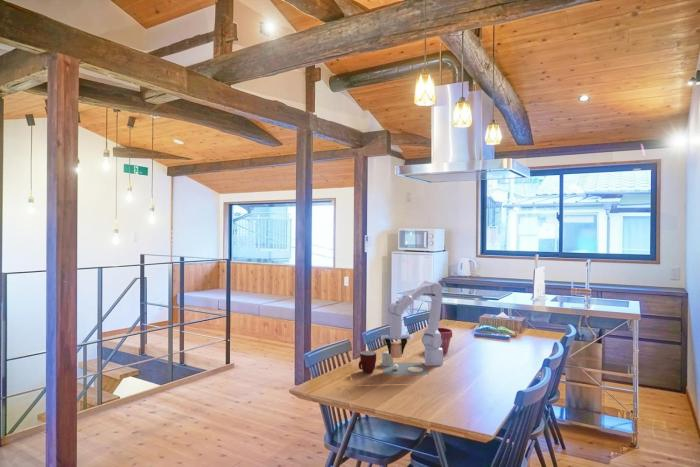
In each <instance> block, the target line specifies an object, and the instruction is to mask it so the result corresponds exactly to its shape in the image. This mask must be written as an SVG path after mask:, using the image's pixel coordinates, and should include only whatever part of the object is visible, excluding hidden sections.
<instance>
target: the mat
mask: <svg viewBox="0 0 700 467" xmlns="http://www.w3.org/2000/svg"><path fill="white" fill-rule="evenodd" d="M379 363H380V366H381V369H382V371H383V374H384V376H407V375H408V376H414V375H416V376H417V375H419V376H420V375H424V376H425V375H430V373H429V371H428V370H427V369H426V368H425V366H424V365H423V364H422V363H423V362H418V361H417V362H393V365H394V364H397V365H398V366H399V368H398V370H394V369H393V366H382V362H379ZM409 367H420V368H422V369H423V371H422V372H410V371H408V370H407V368H409Z"/></svg>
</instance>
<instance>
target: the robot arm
mask: <svg viewBox="0 0 700 467" xmlns="http://www.w3.org/2000/svg"><path fill="white" fill-rule="evenodd" d="M443 288H444V287H443V286H442V285H441V283H439V282H435V281H429V280H424V281H423V282H422V283H420V284H419V286H418V287H417V288H416V289H415V290H413V291H412V292H411V293H410V294H403V295H402V297H401V298H399V299H398V300H395V302H392V303H390V304H389V306H388V307H387V311H388V313H389V317H390V319H389V321H390V323H389V328H390V330H389V331H390V332H389V334H384V335H383V334H382V335H381V338H380V339H381V340H382V341H384V342H385V344H386V347H387V351H389V354H391V349H390V347H391V343H392V342H391V340H400V343H401V345H402V355H404V351H405V347H406V345H407V343H408V341H409V340H411V334H402V331H403V330H402V327H403V326H402V322H403V321H402V320H403V319H402V317H403V316H402V315H403V314H404V312H405V310H406V309H408V308H409V307H410V306H411V305H413V304H414V300H416V299H418V298H419V297H421V296H422V295H424V294H426V295H427V296H429V298H430V299H431V300H430V301H431V302H430V311H429V316H428V325H427V328H426V329H425V330H424V331H423V335H422V336H421V343H422V345H423V347H424V360H423V361H422V363H423V364H424V365H425V366H444V353H443V349H442V348H441V347H440V346H441V343H442V341H441V334H440V332H439V331H438V328H440V327H439V325H440V320H441V319H440V318H441V317H440V316H441V313H442V312H441V310H442V303H443Z"/></svg>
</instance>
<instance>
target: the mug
mask: <svg viewBox="0 0 700 467" xmlns="http://www.w3.org/2000/svg"><path fill="white" fill-rule="evenodd" d="M376 363H377V352H375V351H372V350H364V351H360V356H359V361H358V368H359V370H362V371H363V373H364V374H373V372H374V371H375V367H376Z"/></svg>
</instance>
